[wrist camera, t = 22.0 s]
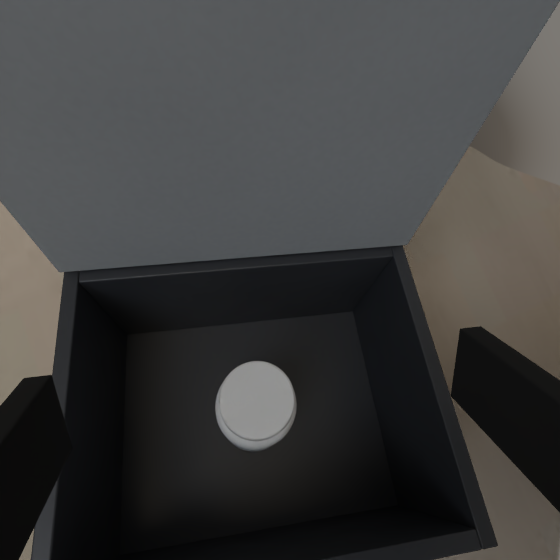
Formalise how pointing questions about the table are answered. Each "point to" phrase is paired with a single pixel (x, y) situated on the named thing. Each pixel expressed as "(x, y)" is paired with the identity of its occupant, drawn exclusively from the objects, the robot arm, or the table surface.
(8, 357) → the table surface
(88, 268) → the grey box lid
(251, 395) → the pill bottle
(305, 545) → the box
